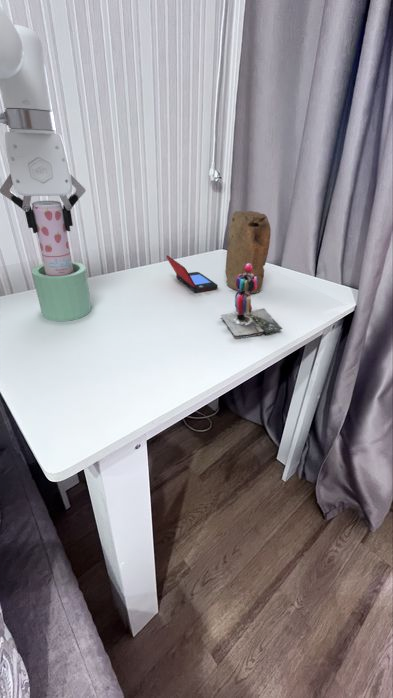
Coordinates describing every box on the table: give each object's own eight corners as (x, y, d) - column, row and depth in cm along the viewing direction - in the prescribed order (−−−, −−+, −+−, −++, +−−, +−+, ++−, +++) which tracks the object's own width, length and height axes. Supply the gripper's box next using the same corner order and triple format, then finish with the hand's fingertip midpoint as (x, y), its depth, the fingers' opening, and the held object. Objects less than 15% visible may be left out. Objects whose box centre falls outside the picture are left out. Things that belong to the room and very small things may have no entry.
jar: (43, 324, 71) (32, 280, 66) (41, 304, 79) (31, 263, 74) (94, 317, 75) (88, 274, 70) (87, 298, 83) (81, 259, 78)
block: (221, 283, 95) (228, 209, 85) (242, 279, 99) (251, 208, 88) (244, 297, 88) (254, 218, 77) (266, 292, 91) (278, 216, 80)
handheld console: (219, 289, 91) (221, 263, 87) (183, 295, 87) (184, 268, 83) (198, 274, 101) (199, 250, 97) (165, 279, 96) (165, 254, 92)
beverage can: (51, 283, 69) (36, 206, 61) (42, 275, 73) (26, 201, 65) (78, 277, 72) (66, 204, 64) (68, 270, 76) (56, 199, 68)
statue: (235, 343, 70) (234, 277, 61) (220, 322, 77) (218, 260, 69) (282, 333, 72) (288, 267, 63) (263, 313, 79) (267, 252, 71)
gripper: (-28, 119, 52) (3, 238, 62) (85, 126, 58) (98, 232, 68) (-23, 120, 57) (5, 228, 67) (80, 126, 64) (92, 224, 73)
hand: (51, 229), depth 67 cm, fingers closed on beverage can, 5 cm apart
